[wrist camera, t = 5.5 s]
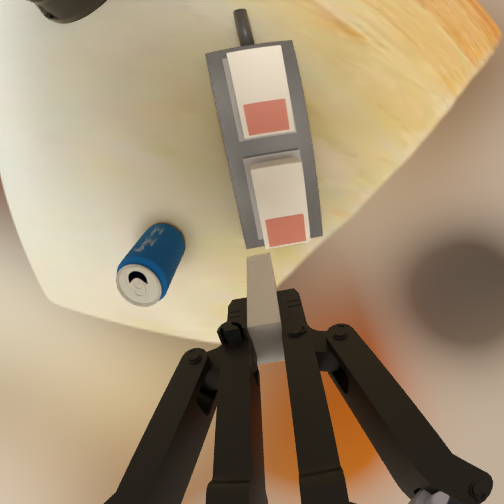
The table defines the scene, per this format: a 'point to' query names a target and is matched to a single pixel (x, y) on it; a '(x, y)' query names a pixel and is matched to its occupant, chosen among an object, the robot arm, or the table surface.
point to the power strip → (264, 146)
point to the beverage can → (150, 265)
